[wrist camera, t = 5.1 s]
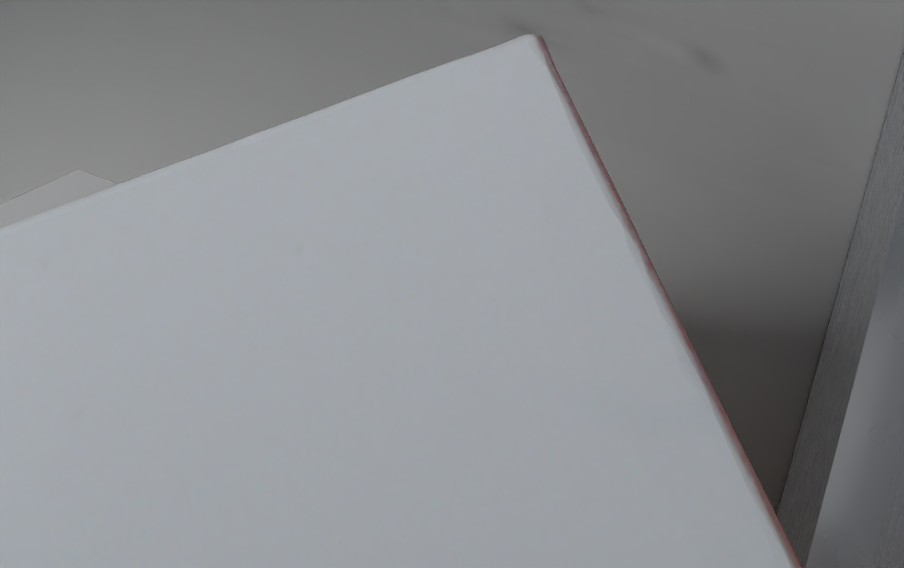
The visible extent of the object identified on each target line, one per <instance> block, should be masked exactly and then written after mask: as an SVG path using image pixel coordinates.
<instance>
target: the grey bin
mask: <svg viewBox="0 0 904 568" xmlns="http://www.w3.org/2000/svg"><path fill="white" fill-rule="evenodd" d="M777 518H778V520H779V522H780V524H781V526H782V528H783V530H784V532H785V534H786V536H787V538H788V540H789V542H790V544H791V546H792V548H793V550H794V552H795V554H796V556H797V558H798V560H799V562H800V564H801V566H802V568H904V53H903V57H902V60H901V64H900V68H899V71H898V75H897V79H896V82H895V86H894V90H893V93H892V97H891V101H890V104H889V108H888V111H887V115H886V119H885V122H884V126H883V130H882V133H881V137H880V141H879V144H878V148H877V151H876V155H875V159H874V162H873V166H872V170H871V173H870V177H869V181H868V184H867V188H866V192H865V195H864V199H863V202H862V206H861V210H860V213H859V217H858V221H857V224H856V228H855V232H854V235H853V239H852V243H851V246H850V250H849V253H848V257H847V261H846V264H845V268H844V272H843V275H842V279H841V283H840V286H839V290H838V293H837V297H836V301H835V304H834V308H833V312H832V315H831V319H830V323H829V326H828V330H827V334H826V337H825V341H824V344H823V348H822V352H821V355H820V359H819V363H818V366H817V370H816V374H815V377H814V381H813V385H812V388H811V392H810V395H809V399H808V403H807V406H806V410H805V414H804V417H803V421H802V425H801V428H800V432H799V435H798V439H797V443H796V446H795V450H794V454H793V457H792V461H791V465H790V468H789V472H788V476H787V479H786V483H785V486H784V490H783V494H782V497H781V501H780V505H779V508H778V512H777Z"/></svg>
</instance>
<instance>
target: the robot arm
mask: <svg viewBox="0 0 904 568" xmlns="http://www.w3.org/2000/svg"><path fill="white" fill-rule="evenodd" d="M114 185H117V184H116V183H113V182H111V181H108V180H105V179H102V178H100V177H97V176H94V175H92V174H89V173H86V172H83V171H81V170H75V171H73V172H71V173H69V174H66V175H64V176H62V177H60V178H58V179H55V180H53V181H51V182H49V183H47V184H44V185H42V186H40V187H38V188H36V189H33V190H31V191H29V192H27V193H25V194H22V195H20V196H18V197H16V198H13V199H11V200H9V201H7V202H5V203H2V204H0V227H1V226H4V225H7V224H9V223H12V222H15V221H18V220H20V219H23V218H26V217H29V216H31V215H34V214H37V213H40V212H42V211H45V210H48V209H51V208H54V207H56V206H59V205H62V204H65V203H67V202H70V201H73V200H76V199H78V198H81V197H84V196H87V195H89V194H92V193H95V192H98V191H100V190H103V189H106V188H109V187H111V186H114Z"/></svg>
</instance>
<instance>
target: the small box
mask: <svg viewBox="0 0 904 568" xmlns="http://www.w3.org/2000/svg"><path fill="white" fill-rule="evenodd" d="M0 568H802V566H801V564H800V562H799V560H798V558H797V556H796V554H795V552H794V550H793V548H792V546H791V544H790V542H789V540H788V538H787V536H786V534H785V532H784V530H783V528H782V526H781V524H780V522H779V520H778V518H777V516H776V514H775V511H774V509H773V507H772V505H771V503H770V501H769V499H768V497H767V495H766V493H765V491H764V489H763V487H762V485H761V483H760V481H759V479H758V477H757V475H756V473H755V471H754V469H753V467H752V465H751V463H750V461H749V459H748V457H747V455H746V453H745V451H744V449H743V447H742V445H741V443H740V441H739V439H738V437H737V435H736V433H735V431H734V429H733V427H732V425H731V423H730V420H729V418H728V416H727V414H726V412H725V410H724V408H723V406H722V404H721V402H720V400H719V398H718V396H717V394H716V392H715V390H714V388H713V386H712V384H711V382H710V380H709V378H708V376H707V374H706V372H705V370H704V368H703V366H702V364H701V362H700V360H699V358H698V356H697V354H696V352H695V350H694V348H693V346H692V344H691V341H690V339H689V337H688V335H687V333H686V331H685V329H684V327H683V325H682V323H681V322H680V320H679V318H678V316H677V314H676V312H675V310H674V308H673V306H672V304H671V302H670V300H669V298H668V296H667V294H666V292H665V289H664V287H663V285H662V283H661V281H660V279H659V277H658V275H657V273H656V271H655V269H654V267H653V265H652V263H651V260H650V258H649V256H648V254H647V252H646V250H645V248H644V246H643V244H642V242H641V240H640V238H639V236H638V234H637V232H636V229H635V227H634V225H633V223H632V221H631V219H630V217H629V215H628V213H627V211H626V209H625V207H624V205H623V203H622V201H621V199H620V197H619V195H618V193H617V191H616V189H615V187H614V185H613V183H612V181H611V179H610V177H609V175H608V172H607V170H606V168H605V166H604V164H603V162H602V160H601V158H600V156H599V154H598V152H597V150H596V148H595V146H594V144H593V142H592V140H591V138H590V136H589V134H588V132H587V130H586V128H585V126H584V124H583V122H582V120H581V118H580V116H579V114H578V112H577V110H576V108H575V106H574V104H573V102H572V100H571V98H570V96H569V94H568V92H567V90H566V88H565V86H564V84H563V82H562V80H561V78H560V76H559V74H558V72H557V70H556V68H555V65H554V63H553V61H552V58H551V56H550V53H549V51H548V48H547V46H546V44H545V42H544V40H543V38H542V35H537V34H526V35H522V36H520V37H517V38H515V39H512V40H510V41H507V42H505V43H502V44H500V45H497V46H494V47H492V48H489V49H486V50H484V51H481V52H478V53H475V54H472V55H469V56H466V57H463V58H460V59H457V60H454V61H451V62H448V63H446V64H443V65H440V66H437V67H435V68H432V69H429V70H426V71H424V72H421V73H418V74H415V75H413V76H410V77H407V78H404V79H402V80H399V81H396V82H393V83H391V84H388V85H385V86H382V87H380V88H377V89H375V90H372V91H369V92H367V93H364V94H361V95H359V96H356V97H353V98H351V99H348V100H345V101H343V102H340V103H338V104H335V105H332V106H330V107H327V108H324V109H322V110H319V111H316V112H313V113H311V114H308V115H305V116H302V117H300V118H297V119H294V120H291V121H289V122H286V123H283V124H280V125H278V126H275V127H272V128H269V129H267V130H264V131H261V132H259V133H256V134H253V135H251V136H248V137H245V138H243V139H240V140H237V141H234V142H232V143H229V144H226V145H224V146H221V147H218V148H216V149H213V150H210V151H207V152H205V153H202V154H199V155H196V156H194V157H191V158H188V159H186V160H183V161H180V162H177V163H175V164H172V165H169V166H166V167H164V168H161V169H158V170H155V171H153V172H150V173H147V174H144V175H142V176H139V177H136V178H133V179H131V180H128V181H125V182H122V183H120V184H117V185H114V186H111V187H109V188H106V189H103V190H100V191H98V192H95V193H92V194H89V195H87V196H84V197H81V198H78V199H76V200H73V201H70V202H67V203H65V204H62V205H59V206H56V207H54V208H51V209H48V210H45V211H42V212H40V213H37V214H34V215H31V216H29V217H26V218H23V219H20V220H18V221H15V222H12V223H9V224H7V225H4V226H1V227H0Z"/></svg>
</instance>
